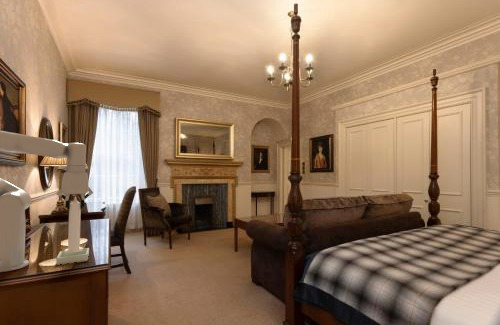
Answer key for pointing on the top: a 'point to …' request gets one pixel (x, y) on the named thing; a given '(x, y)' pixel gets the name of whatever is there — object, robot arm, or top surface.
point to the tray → (72, 257)
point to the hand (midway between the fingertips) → (75, 208)
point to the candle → (74, 227)
